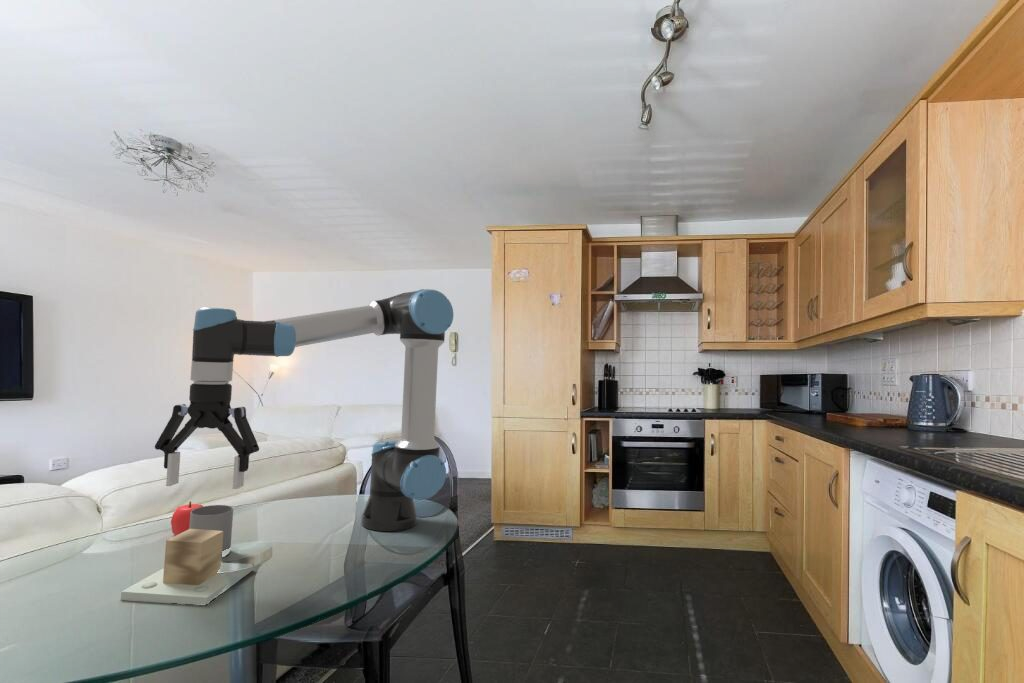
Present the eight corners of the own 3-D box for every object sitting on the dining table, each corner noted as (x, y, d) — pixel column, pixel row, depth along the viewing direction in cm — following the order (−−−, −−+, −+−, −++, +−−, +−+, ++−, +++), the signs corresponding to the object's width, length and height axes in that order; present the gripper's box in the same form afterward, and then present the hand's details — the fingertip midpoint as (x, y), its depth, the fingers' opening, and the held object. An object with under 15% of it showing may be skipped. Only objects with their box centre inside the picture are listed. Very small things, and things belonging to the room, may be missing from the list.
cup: (185, 563, 112) (188, 517, 113) (188, 550, 120) (192, 506, 120) (229, 558, 116) (233, 513, 116) (230, 546, 123) (233, 503, 124)
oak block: (220, 570, 106) (223, 530, 106) (198, 585, 99) (201, 542, 99) (187, 568, 106) (190, 528, 107) (162, 582, 99) (166, 540, 100)
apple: (195, 539, 127) (198, 506, 127) (161, 539, 126) (164, 505, 126) (212, 529, 135) (214, 498, 135) (180, 528, 134) (182, 497, 134)
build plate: (253, 570, 110) (253, 563, 110) (206, 605, 94) (206, 596, 94) (179, 566, 111) (180, 558, 111) (120, 600, 95) (121, 590, 95)
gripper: (279, 384, 112) (274, 484, 111) (164, 379, 112) (157, 479, 111) (262, 386, 104) (256, 493, 103) (138, 380, 104) (131, 487, 104)
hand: (205, 486), depth 107 cm, fingers open, 13 cm apart
